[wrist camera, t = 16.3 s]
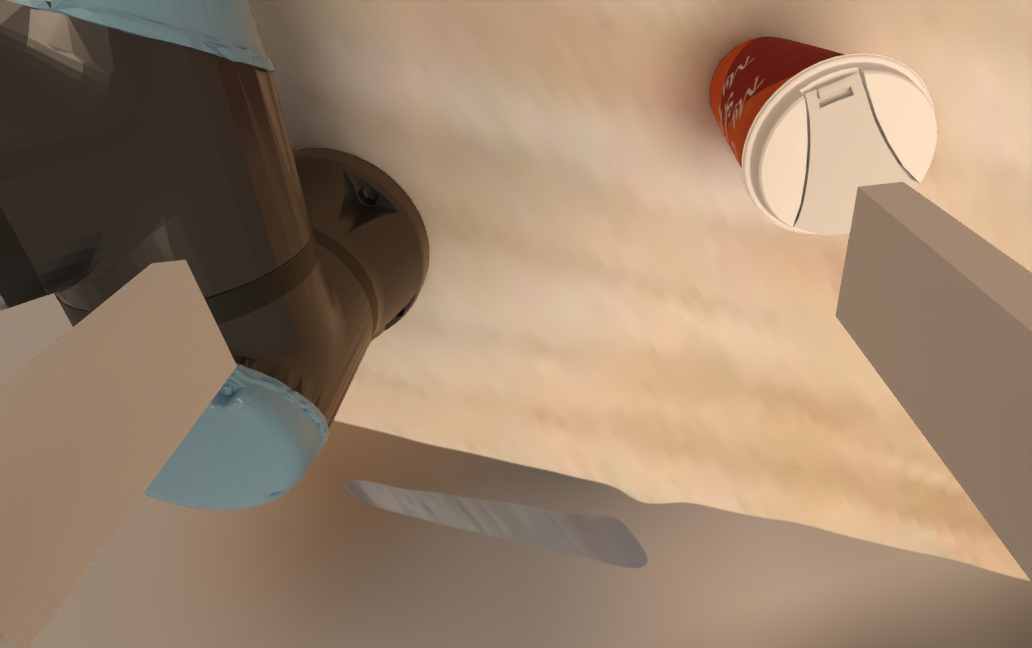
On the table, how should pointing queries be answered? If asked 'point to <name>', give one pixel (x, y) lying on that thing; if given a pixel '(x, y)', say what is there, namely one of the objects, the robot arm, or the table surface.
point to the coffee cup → (820, 128)
